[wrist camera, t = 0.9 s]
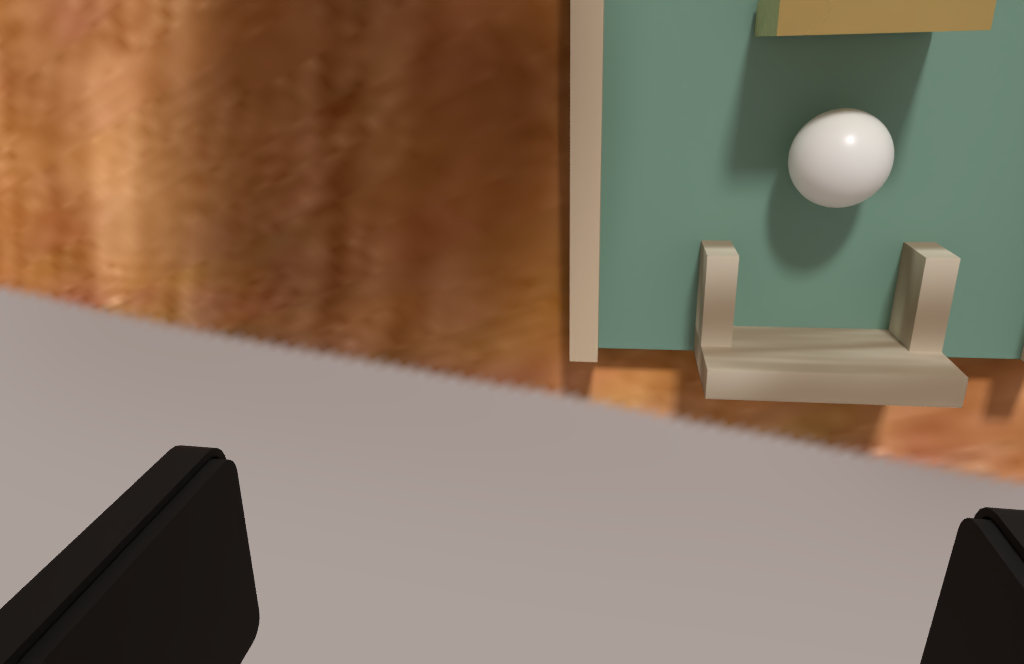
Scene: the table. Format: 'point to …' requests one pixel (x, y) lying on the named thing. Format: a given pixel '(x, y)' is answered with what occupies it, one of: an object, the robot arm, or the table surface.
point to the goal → (832, 342)
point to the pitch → (786, 173)
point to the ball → (841, 157)
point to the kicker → (870, 16)
